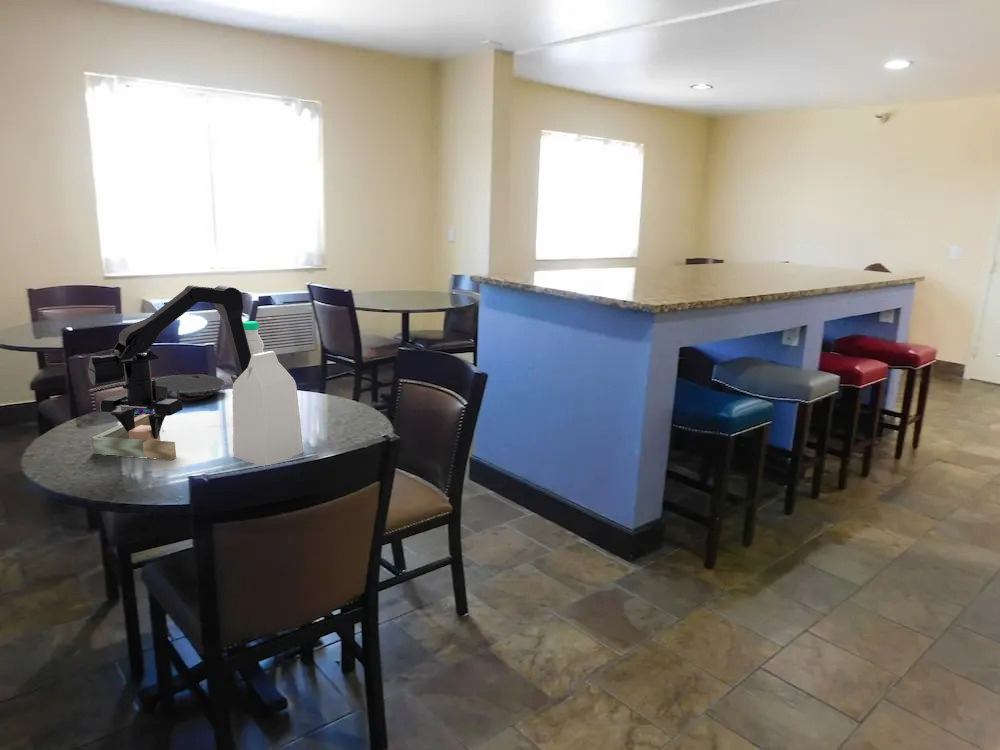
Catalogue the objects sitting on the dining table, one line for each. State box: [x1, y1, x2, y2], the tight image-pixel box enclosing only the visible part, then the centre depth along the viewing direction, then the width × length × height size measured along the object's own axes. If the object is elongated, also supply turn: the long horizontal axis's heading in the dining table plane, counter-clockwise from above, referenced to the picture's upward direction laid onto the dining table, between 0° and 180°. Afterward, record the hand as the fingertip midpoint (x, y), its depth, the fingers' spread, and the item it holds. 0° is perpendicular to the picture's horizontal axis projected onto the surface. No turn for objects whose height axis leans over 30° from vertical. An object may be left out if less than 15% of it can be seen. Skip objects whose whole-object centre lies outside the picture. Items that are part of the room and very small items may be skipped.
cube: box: [128, 425, 161, 441], centre depth 172 cm, size 5×5×5 cm
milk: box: [232, 350, 304, 467], centre depth 166 cm, size 12×12×26 cm
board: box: [154, 374, 227, 403], centre depth 218 cm, size 22×22×5 cm
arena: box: [91, 414, 177, 461], centre depth 174 cm, size 21×21×4 cm
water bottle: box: [243, 320, 265, 356], centre depth 213 cm, size 7×7×25 cm
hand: (144, 437), depth 172 cm, fingers open, 6 cm apart
